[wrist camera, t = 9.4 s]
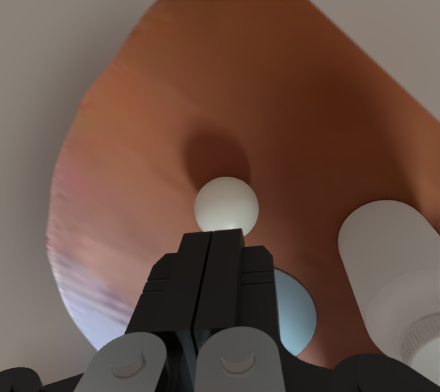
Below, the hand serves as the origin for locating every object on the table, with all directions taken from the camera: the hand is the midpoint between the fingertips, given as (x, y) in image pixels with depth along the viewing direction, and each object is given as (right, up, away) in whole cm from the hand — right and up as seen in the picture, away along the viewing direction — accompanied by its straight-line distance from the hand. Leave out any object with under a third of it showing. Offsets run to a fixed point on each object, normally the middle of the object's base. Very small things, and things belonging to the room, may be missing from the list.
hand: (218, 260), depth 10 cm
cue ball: (+1, +1, +22) cm, 22 cm away
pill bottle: (+15, -2, +25) cm, 29 cm away
